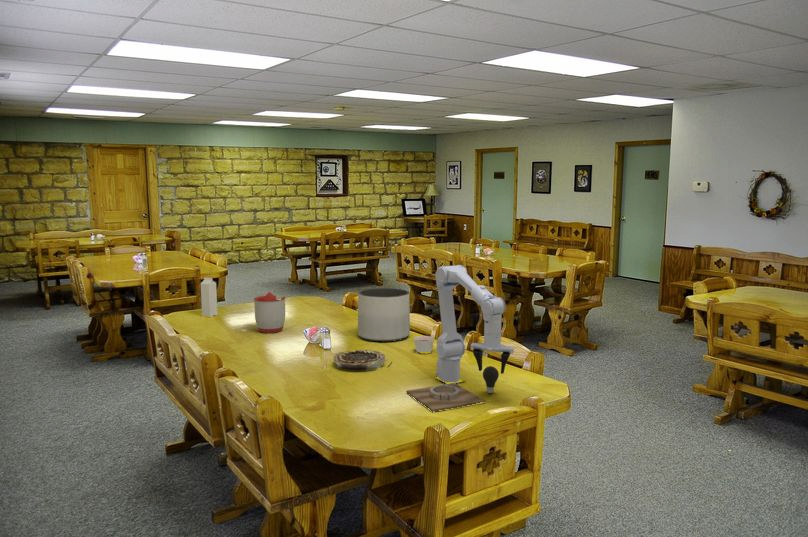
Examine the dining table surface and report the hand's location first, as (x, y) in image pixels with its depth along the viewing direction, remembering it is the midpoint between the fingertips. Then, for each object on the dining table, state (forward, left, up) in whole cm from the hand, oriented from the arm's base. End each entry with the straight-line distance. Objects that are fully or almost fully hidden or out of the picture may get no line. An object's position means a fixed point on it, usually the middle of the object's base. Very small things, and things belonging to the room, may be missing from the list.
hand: (491, 371), depth 204 cm
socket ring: (-8, -14, -10) cm, 19 cm away
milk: (-178, -70, -10) cm, 191 cm away
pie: (-57, -27, -11) cm, 64 cm away
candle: (-62, +6, -10) cm, 63 cm away
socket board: (-8, -14, -10) cm, 19 cm away
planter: (-95, +1, -10) cm, 96 cm away
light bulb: (-5, +3, -10) cm, 12 cm away
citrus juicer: (-130, -46, -10) cm, 138 cm away
